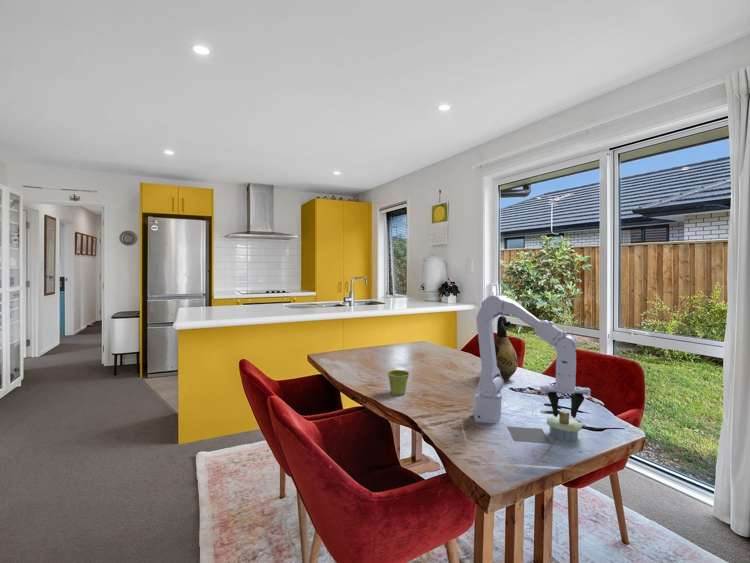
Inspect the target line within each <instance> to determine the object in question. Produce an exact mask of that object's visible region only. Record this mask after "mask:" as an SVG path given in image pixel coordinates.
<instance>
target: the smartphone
mask: <svg viewBox="0 0 750 563" xmlns="http://www.w3.org/2000/svg"><path fill="white" fill-rule="evenodd" d="M560 411H561V410H560V409H558V416H559V414H560ZM540 412H541V413H543V414H546V415H553V410H552V408H549V409H541V410H540ZM575 420H576V421H578V422H579V423H581V425H582V427H586V423H584V422H582V421H581V420H578V419H576V418H575Z"/></svg>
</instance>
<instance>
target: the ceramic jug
mask: <svg viewBox="0 0 750 563" xmlns="http://www.w3.org/2000/svg"><path fill="white" fill-rule="evenodd" d="M511 328H512V323H511V322H510V320H509V321H508V320H507V318H506V316H505V315H499V316H498V318H497V323H496V337H495V338H494V344H495V353H496V362H497V367H498V369H499V370H500V375H501V377H502V378H503V381H504V382H508V381H510V379H511V377H512V376H514V375H515V373H516V371H517V369H518V365H519V361H518V360H519V359H518V356H517V353H516V349H515V348H514V346H513V344H512V342H511V340H510V339H509V337H508V336H507V334H508V333H507V330H509V329H511Z"/></svg>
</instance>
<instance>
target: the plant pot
mask: <svg viewBox="0 0 750 563" xmlns="http://www.w3.org/2000/svg"><path fill="white" fill-rule="evenodd" d="M410 373H411V372H409V371H406V370H402V369H394V370H393V369H392V370H390V371H387V373H386V374H387V376H388V380H389V388H390V394H392V395H394V396H402V395H405V394H406V391H407V384H408V380H409V379H408V378H409V376H410V375H411V374H410Z"/></svg>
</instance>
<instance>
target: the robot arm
mask: <svg viewBox="0 0 750 563" xmlns="http://www.w3.org/2000/svg"><path fill="white" fill-rule="evenodd" d="M501 314H502V315H512V316H514V317H515V318H517V319H519V320H520V321H522V322H523V323H524V324H526V325H528V326H529V327H531V328H533V330H534V334H535V335H536V336H538V337H539V338H541V340H543V341H544V342H546V343H547V344H549V346H551V347H554V350H555V351H556V358H555V359H556V360H555V384H553V385H552V384H549V385H540V387H539V388H540V389H539V391H540V393H541V394H546V395H547V397H548V400H549V403H550V405H551V409H552V410H553V414H552V415H553V417H559V415H558V410H559V409H558V407H559V402H560V401H559V400H560V397H559V396H558V394H559V395H560V394H562V395H563V394H565V395H570V403H571V404H570V405H571V407H570V416H571V417H572V419H576V418H577V413H578V411H579V410H580V409H579V408H580V406H581V405H582V404H583V402H584V401H585V397H584V396H589V397H591V391H592V390H591V389H590V388H589V387H581V386H576V380H577V379H576V376H577V375H576V374H577V352H576V350H577V349H578V347H579V343H578V340H577V338H576V337H575V336H574V335H572V334H568V332H567V331H565V330H564V331H563V330H562V329H560V328H558V327H557V326H555V325H554V324H555V323H554V322H553V321H552V320H550V321H549V320H546V319H545V320H540V319H538V318H537V317H536V316H535V315H533V313H531V312H529V311H528V310H527V309H526V308H525V307H523V306H522V305H520V304H519V303H518V302H517V301H515V300H514V299H512V298H510V297H508V296H507V295H505V294H502V293H500V294H499V293H498V294H496V295H489V296H487V297H486V298H485V299H484V300H483V301H482V302H481V306H480V308H479V311H478V313H477V315H476V328H477V336H478V338H477V340H478V345H479V346H478V347H479V354H480V357H479V358H480V364H481V370H480V372H479V380H478V383H477V389H478V391H479V393H475V394H473V405H472V406H473V410H472V415H473V418H474V421H475V423H486V424H487V423H488V424H502V425H503V424H504V420H503V419H502V400H503V399H502V398H503V397H502V392H501V390H502V389H503V388H504V386H505V383H504V382H505V381H503V378H502V377H501V375H500V370H499V369H498V367H497V362H496V353H495V344H494V340H495V336H494V328H493V322H494V320H495V319H497V317H499V316H500V315H501Z"/></svg>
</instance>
